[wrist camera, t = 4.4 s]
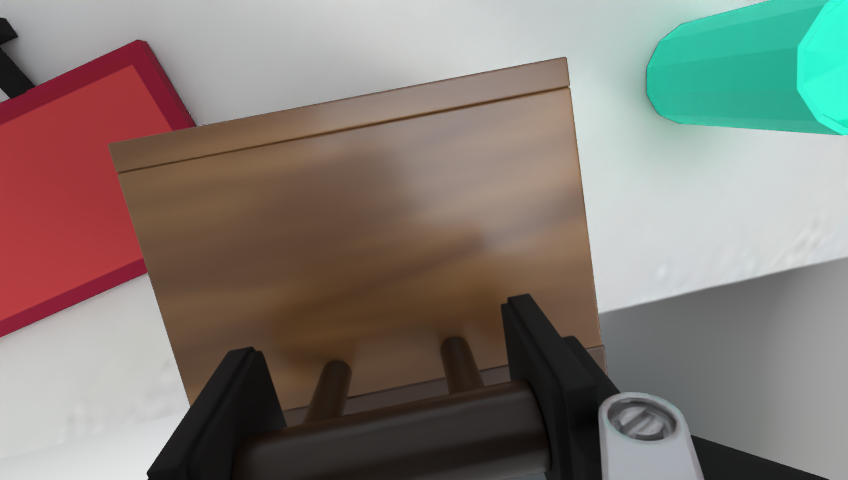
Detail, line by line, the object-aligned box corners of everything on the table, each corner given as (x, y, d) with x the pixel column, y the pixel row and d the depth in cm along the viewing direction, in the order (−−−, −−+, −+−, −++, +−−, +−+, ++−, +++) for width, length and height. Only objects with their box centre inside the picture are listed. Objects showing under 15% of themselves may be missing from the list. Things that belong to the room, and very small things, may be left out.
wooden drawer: (-123, 128, 7) (89, 647, 8) (693, -25, 7) (731, 509, 9) (267, 155, 26) (306, 309, 28) (475, 115, 26) (501, 270, 28)
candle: (690, 142, 28) (897, 170, 17) (625, 84, 27) (804, 71, 15) (758, 62, 27) (1032, 32, 16) (695, -4, 25) (945, -90, 14)
